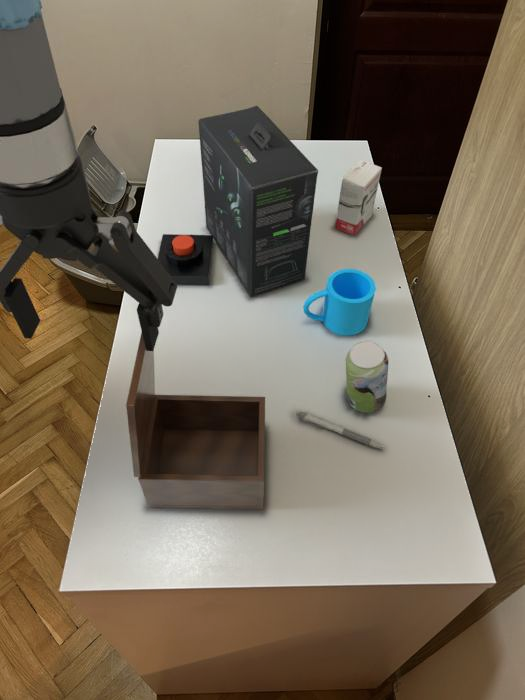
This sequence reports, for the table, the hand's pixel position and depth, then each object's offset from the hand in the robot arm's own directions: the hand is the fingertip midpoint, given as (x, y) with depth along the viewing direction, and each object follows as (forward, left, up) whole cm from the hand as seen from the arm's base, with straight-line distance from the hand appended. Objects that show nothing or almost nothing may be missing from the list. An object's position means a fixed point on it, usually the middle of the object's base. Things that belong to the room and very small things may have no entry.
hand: (92, 335), depth 59 cm
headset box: (+17, +43, -25) cm, 53 cm away
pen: (+31, +3, -25) cm, 40 cm away
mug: (+32, +26, -25) cm, 48 cm away
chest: (+12, -3, -25) cm, 28 cm away
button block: (+4, +40, -25) cm, 47 cm away
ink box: (+38, +54, -25) cm, 70 cm away
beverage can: (+35, +9, -25) cm, 44 cm away
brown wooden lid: (+5, -3, -8) cm, 10 cm away
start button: (+4, +40, -21) cm, 45 cm away
